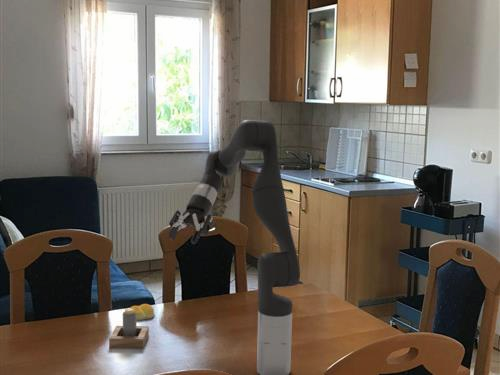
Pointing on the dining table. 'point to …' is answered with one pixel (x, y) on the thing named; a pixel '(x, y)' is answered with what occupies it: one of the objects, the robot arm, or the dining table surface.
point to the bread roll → (143, 311)
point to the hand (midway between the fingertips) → (181, 240)
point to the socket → (129, 338)
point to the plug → (129, 323)
